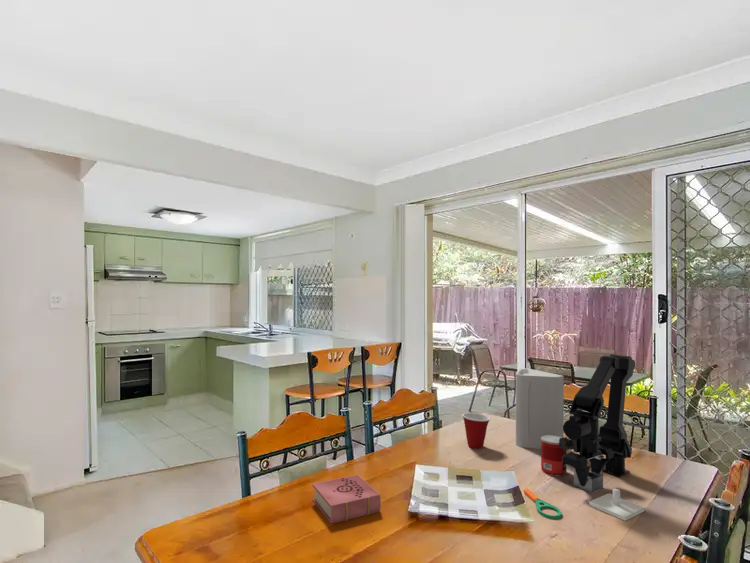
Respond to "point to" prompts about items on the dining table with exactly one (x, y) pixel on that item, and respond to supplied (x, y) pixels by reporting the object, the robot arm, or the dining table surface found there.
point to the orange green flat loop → (542, 505)
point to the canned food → (552, 456)
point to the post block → (616, 506)
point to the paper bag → (538, 406)
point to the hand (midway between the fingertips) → (588, 483)
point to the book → (346, 498)
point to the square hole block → (590, 482)
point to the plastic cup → (475, 429)
